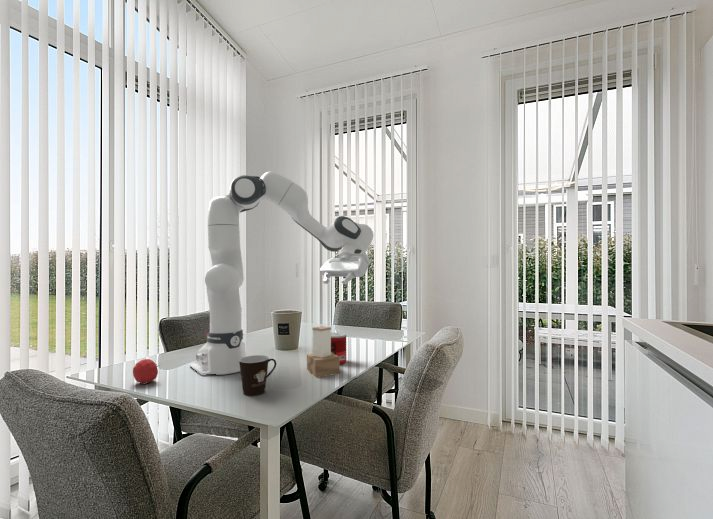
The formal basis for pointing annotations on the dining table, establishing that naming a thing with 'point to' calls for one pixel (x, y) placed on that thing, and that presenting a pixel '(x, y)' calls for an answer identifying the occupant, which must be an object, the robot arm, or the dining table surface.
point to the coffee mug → (254, 374)
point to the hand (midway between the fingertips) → (334, 283)
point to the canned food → (339, 345)
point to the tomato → (145, 371)
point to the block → (323, 365)
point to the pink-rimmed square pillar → (321, 341)
